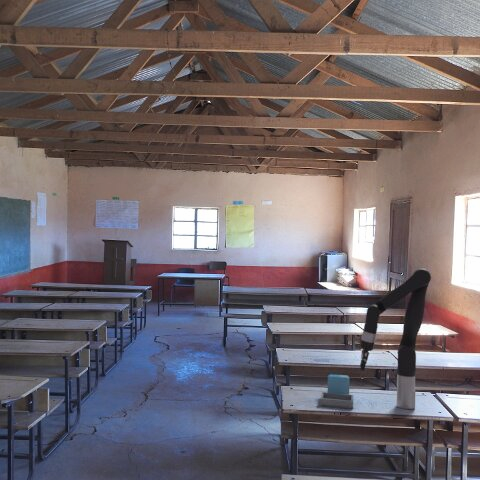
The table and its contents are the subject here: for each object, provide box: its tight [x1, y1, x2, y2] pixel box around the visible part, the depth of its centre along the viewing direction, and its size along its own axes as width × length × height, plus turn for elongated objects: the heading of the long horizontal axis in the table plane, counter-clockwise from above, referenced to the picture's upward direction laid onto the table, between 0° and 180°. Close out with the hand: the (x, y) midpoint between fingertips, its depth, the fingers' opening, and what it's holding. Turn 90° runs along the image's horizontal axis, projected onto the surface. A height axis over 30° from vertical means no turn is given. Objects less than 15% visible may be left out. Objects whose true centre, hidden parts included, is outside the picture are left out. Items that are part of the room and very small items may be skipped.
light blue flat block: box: [327, 373, 351, 395], centre depth 284 cm, size 12×4×12 cm, turn 80°
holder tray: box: [319, 391, 354, 410], centre depth 272 cm, size 17×12×4 cm
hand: (362, 368), depth 278 cm, fingers open, 8 cm apart
